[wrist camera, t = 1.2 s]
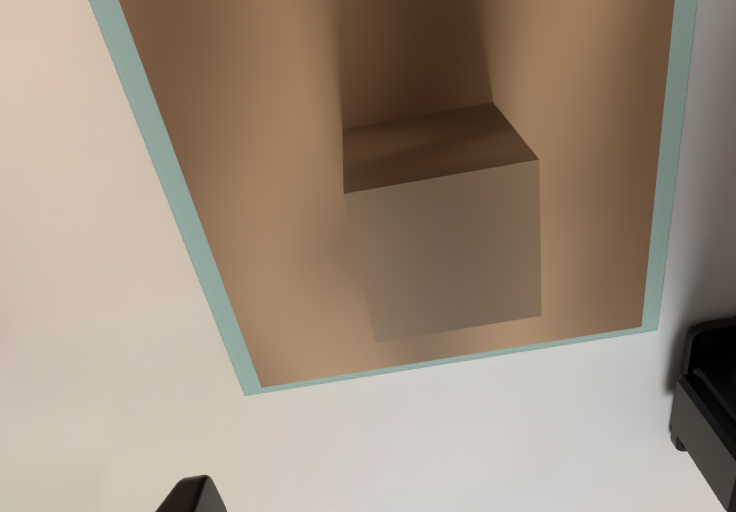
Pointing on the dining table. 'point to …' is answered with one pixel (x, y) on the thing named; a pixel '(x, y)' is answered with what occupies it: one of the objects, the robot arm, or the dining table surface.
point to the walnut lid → (414, 168)
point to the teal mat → (204, 264)
